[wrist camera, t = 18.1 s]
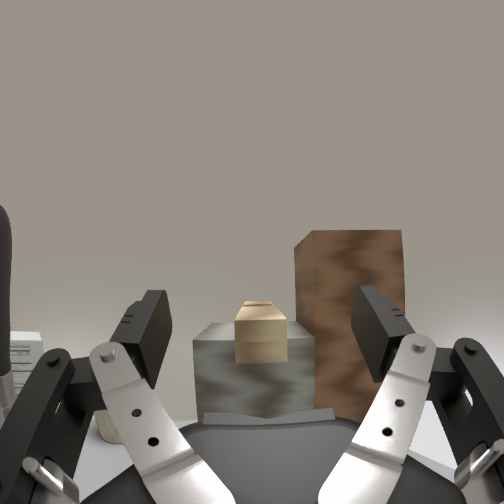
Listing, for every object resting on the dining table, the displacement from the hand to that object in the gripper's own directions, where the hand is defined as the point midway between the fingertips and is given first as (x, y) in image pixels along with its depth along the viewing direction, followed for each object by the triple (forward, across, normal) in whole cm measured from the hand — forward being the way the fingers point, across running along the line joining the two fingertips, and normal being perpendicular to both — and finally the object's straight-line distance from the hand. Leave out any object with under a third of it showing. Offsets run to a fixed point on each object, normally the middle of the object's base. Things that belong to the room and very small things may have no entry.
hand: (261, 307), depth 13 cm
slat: (+15, 0, +14) cm, 20 cm away
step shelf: (+8, -5, +33) cm, 35 cm away
